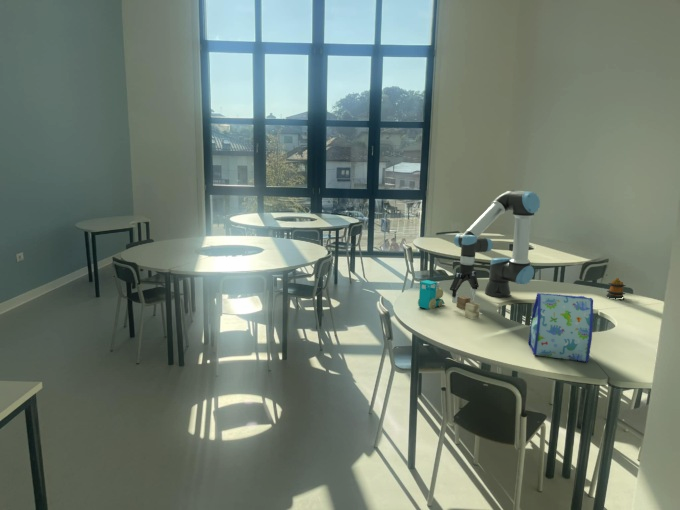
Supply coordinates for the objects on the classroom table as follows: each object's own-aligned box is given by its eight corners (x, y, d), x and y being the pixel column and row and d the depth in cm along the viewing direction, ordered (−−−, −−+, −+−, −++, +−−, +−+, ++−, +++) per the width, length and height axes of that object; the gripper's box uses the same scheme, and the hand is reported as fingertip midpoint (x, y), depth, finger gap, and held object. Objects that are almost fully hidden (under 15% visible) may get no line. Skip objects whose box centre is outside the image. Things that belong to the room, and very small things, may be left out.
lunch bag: (579, 349, 207) (587, 292, 202) (590, 364, 191) (599, 303, 186) (526, 343, 212) (532, 287, 206) (533, 358, 196) (540, 297, 191)
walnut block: (462, 307, 262) (463, 295, 261) (469, 310, 258) (470, 297, 257) (456, 308, 260) (457, 296, 258) (463, 311, 255) (464, 299, 254)
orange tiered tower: (624, 301, 287) (627, 282, 285) (605, 298, 292) (608, 280, 290) (623, 296, 299) (626, 278, 296) (605, 293, 303) (608, 276, 301)
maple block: (471, 314, 246) (472, 302, 244) (478, 317, 242) (480, 304, 240) (464, 316, 243) (465, 303, 242) (472, 319, 239) (473, 305, 238)
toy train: (445, 305, 266) (447, 279, 263) (429, 311, 254) (431, 284, 251) (433, 302, 271) (435, 276, 268) (417, 307, 259) (419, 281, 256)
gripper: (477, 260, 264) (473, 297, 268) (445, 263, 250) (441, 302, 254) (487, 263, 258) (483, 300, 261) (456, 266, 244) (452, 305, 248)
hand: (463, 301), depth 258 cm, fingers open, 13 cm apart
